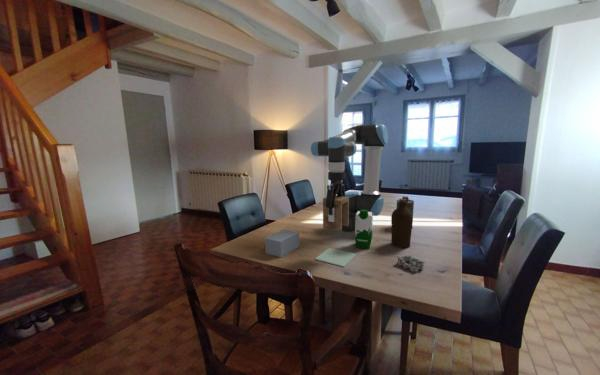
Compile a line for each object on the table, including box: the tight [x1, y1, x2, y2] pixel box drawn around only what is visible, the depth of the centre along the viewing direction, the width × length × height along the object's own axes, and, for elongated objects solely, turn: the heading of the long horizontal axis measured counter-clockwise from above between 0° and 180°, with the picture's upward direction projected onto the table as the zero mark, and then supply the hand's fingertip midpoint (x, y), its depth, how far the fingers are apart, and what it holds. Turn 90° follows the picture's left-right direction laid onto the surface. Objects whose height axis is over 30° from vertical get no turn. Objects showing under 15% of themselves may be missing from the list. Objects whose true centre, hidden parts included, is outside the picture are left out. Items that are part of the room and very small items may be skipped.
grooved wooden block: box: [322, 195, 349, 232], centre depth 126 cm, size 16×9×16 cm
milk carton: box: [354, 209, 374, 250], centre depth 142 cm, size 9×9×20 cm
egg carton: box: [396, 254, 426, 273], centre depth 119 cm, size 11×8×4 cm
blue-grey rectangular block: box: [264, 228, 300, 258], centre depth 139 cm, size 10×16×8 cm, turn 147°
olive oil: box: [390, 198, 414, 249], centre depth 142 cm, size 11×11×25 cm
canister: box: [396, 195, 415, 229], centre depth 171 cm, size 11×10×20 cm
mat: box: [314, 247, 358, 268], centre depth 130 cm, size 15×15×1 cm
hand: (336, 218), depth 126 cm, fingers closed on grooved wooden block, 9 cm apart
